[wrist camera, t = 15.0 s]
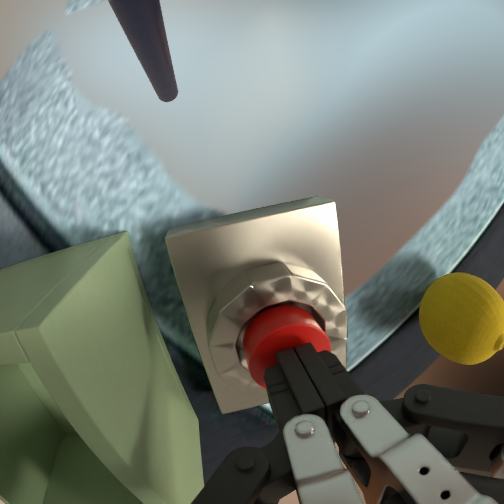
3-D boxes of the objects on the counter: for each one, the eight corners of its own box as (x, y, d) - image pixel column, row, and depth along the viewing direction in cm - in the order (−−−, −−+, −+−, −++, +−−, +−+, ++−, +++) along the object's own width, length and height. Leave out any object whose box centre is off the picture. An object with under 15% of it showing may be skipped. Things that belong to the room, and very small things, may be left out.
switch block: (168, 228, 15) (159, 249, 11) (318, 195, 16) (354, 205, 12) (218, 391, 18) (225, 436, 14) (333, 359, 19) (359, 395, 15)
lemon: (386, 299, 19) (466, 362, 11) (436, 243, 18) (524, 280, 11) (414, 340, 20) (479, 397, 13) (457, 289, 20) (528, 331, 12)
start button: (234, 316, 13) (240, 337, 11) (313, 295, 13) (329, 312, 12) (250, 377, 14) (257, 401, 12) (319, 357, 14) (333, 378, 13)
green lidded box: (-22, 276, 13) (-116, 350, 4) (127, 230, 14) (39, 326, 5) (64, 431, 17) (37, 527, 8) (198, 419, 19) (212, 542, 9)
